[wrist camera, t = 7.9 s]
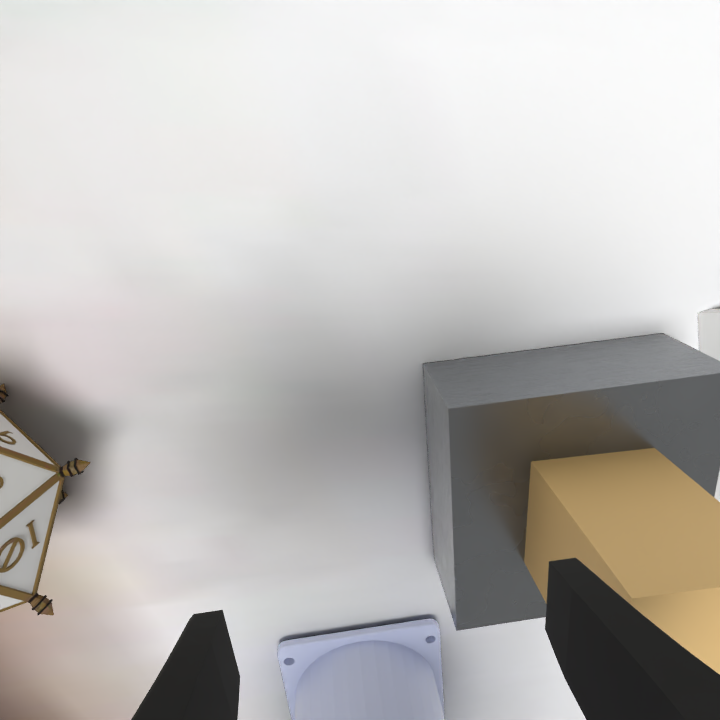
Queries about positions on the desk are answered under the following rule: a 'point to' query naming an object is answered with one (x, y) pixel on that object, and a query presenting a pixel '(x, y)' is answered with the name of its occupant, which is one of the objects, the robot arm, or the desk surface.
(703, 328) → the grey v-shaped trough
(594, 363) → the charcoal stand
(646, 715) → the robot arm
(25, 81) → the desk surface
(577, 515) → the ochre block
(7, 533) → the game die
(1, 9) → the desk surface
